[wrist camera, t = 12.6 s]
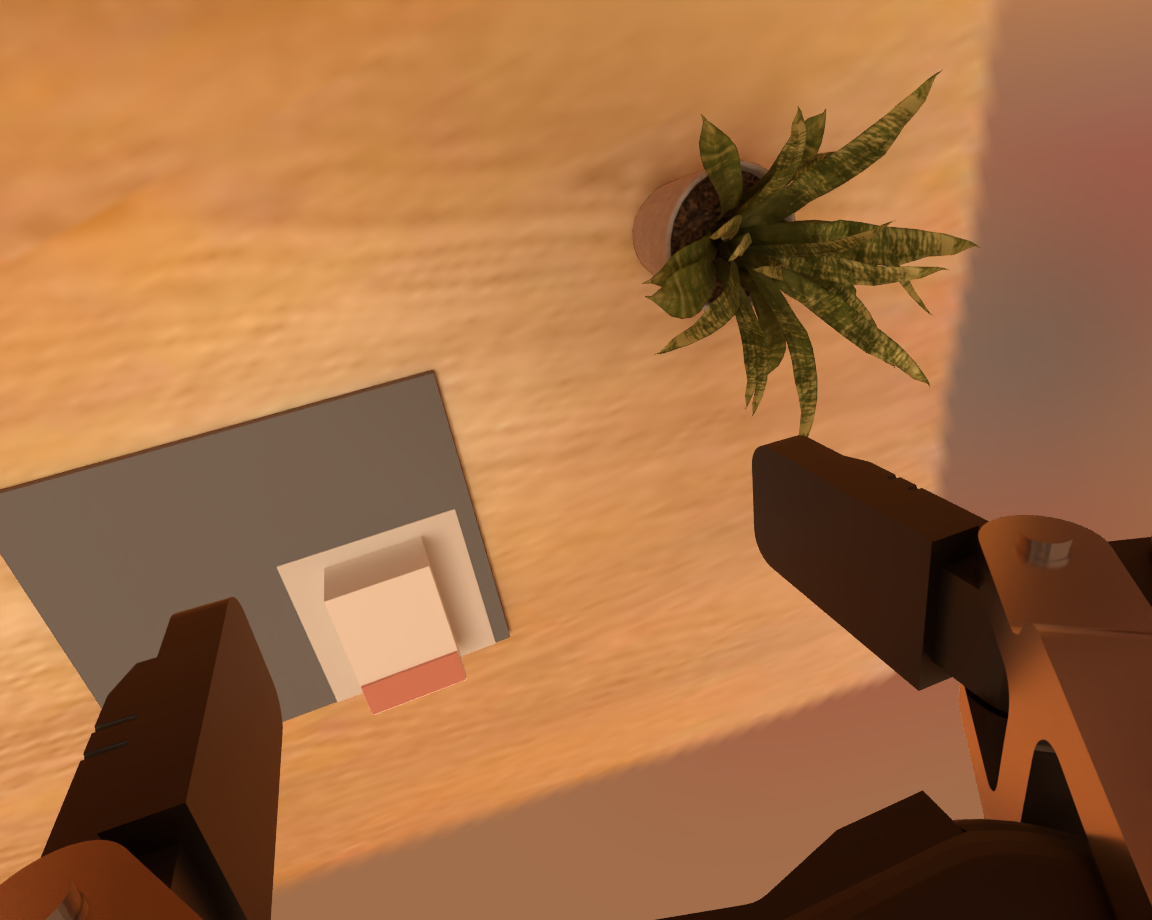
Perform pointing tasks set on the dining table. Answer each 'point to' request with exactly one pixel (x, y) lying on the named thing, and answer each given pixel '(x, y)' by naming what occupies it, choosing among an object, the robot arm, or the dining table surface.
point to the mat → (252, 536)
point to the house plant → (781, 250)
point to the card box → (393, 624)
